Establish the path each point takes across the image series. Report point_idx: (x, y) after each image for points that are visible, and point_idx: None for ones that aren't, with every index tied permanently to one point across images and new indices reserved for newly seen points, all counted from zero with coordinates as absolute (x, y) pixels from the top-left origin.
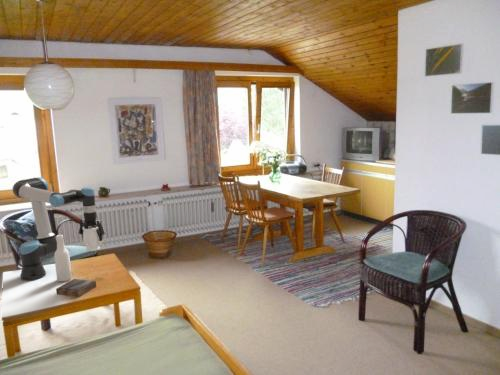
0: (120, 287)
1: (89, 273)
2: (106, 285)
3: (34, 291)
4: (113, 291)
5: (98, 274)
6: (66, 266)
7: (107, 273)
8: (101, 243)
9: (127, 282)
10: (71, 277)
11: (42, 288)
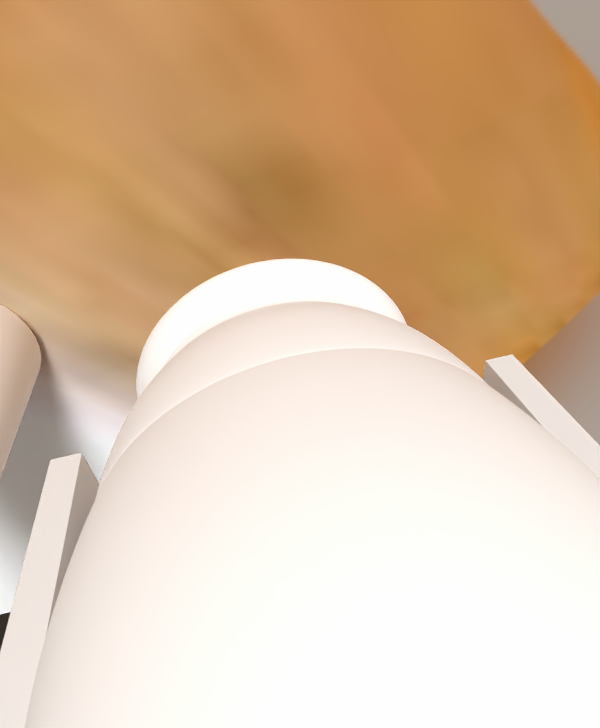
0: (565, 255)
1: (24, 105)
2: (438, 273)
3: (29, 537)
4: (543, 324)
5: (161, 87)
6: (7, 451)
7: (239, 8)
8: (534, 391)
9: (586, 148)
10: (10, 311)
11: (21, 499)
